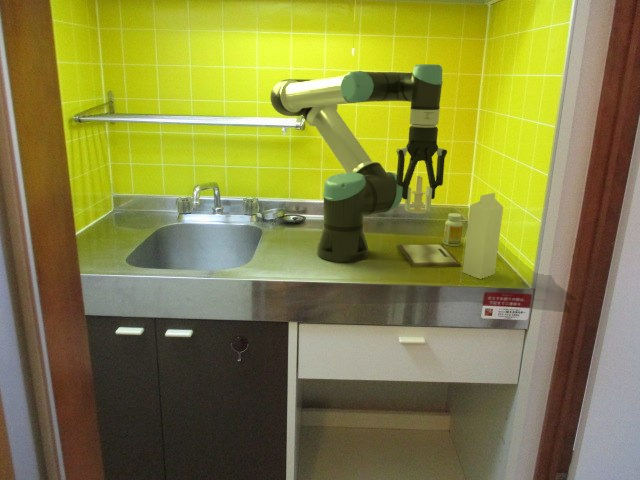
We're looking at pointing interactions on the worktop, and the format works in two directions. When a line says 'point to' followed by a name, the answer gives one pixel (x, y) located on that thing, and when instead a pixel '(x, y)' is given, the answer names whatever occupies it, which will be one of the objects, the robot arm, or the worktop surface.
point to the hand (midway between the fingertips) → (417, 210)
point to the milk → (483, 237)
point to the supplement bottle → (453, 230)
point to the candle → (418, 198)
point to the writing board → (428, 255)
